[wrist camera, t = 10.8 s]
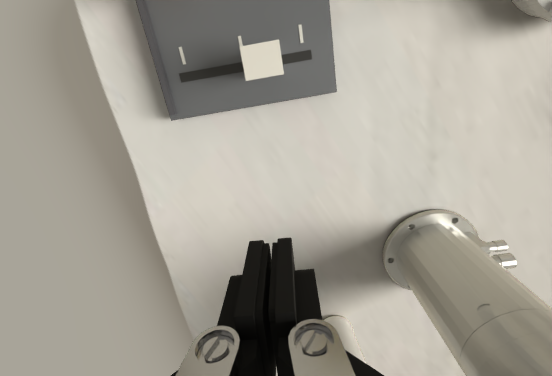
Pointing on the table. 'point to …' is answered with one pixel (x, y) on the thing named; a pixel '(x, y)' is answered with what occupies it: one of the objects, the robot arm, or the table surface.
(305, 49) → the fader board
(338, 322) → the drinking glass
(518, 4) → the flag stand
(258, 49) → the grey fader
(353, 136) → the table surface
